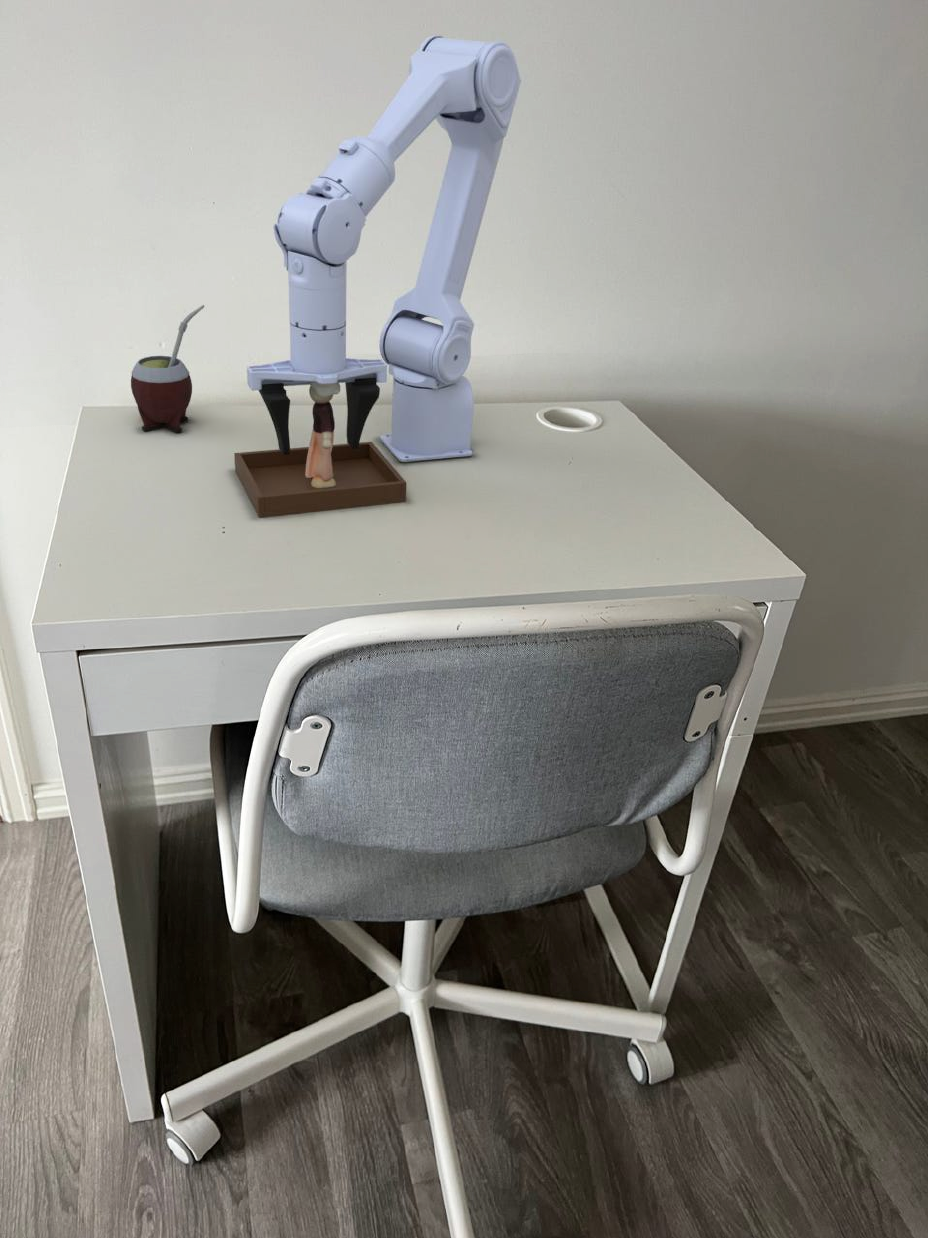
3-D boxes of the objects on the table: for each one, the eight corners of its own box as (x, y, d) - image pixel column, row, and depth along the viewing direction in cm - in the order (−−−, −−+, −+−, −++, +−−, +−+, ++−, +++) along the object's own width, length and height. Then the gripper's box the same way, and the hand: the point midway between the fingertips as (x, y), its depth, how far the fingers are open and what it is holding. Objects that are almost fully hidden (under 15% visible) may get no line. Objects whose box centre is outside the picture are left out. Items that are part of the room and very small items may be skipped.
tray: (371, 459, 116) (371, 441, 115) (405, 501, 107) (406, 482, 106) (235, 471, 110) (234, 452, 109) (258, 517, 101) (258, 497, 100)
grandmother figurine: (297, 469, 111) (295, 359, 104) (330, 467, 112) (330, 358, 105) (314, 497, 105) (312, 383, 98) (348, 494, 106) (349, 381, 99)
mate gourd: (124, 423, 120) (110, 299, 112) (179, 410, 125) (169, 291, 117) (158, 441, 116) (146, 314, 108) (214, 427, 121) (206, 304, 113)
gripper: (255, 336, 93) (261, 468, 100) (398, 330, 99) (393, 456, 106) (240, 317, 99) (246, 443, 106) (376, 312, 104) (373, 433, 111)
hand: (318, 448), depth 106 cm, fingers open, 7 cm apart
